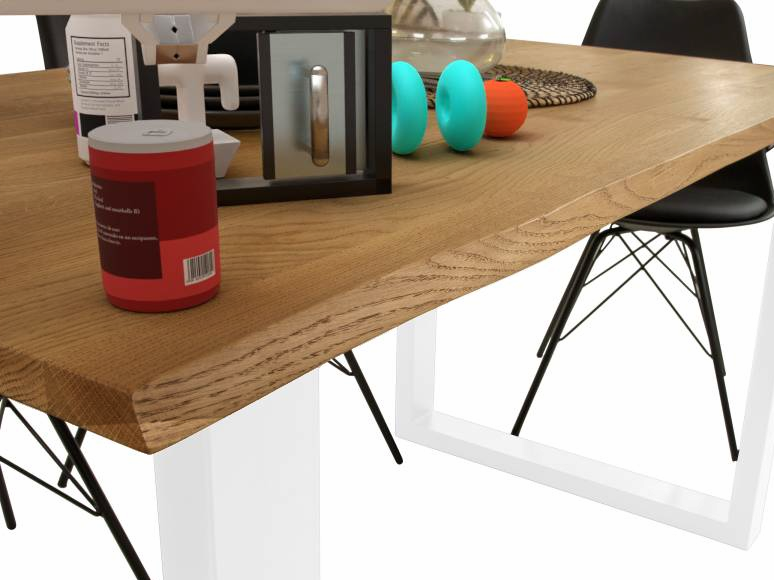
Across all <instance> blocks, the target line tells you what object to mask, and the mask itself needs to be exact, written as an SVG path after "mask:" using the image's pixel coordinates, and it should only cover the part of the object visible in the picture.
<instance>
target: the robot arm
mask: <svg viewBox="0 0 774 580" xmlns="http://www.w3.org/2000/svg"><path fill="white" fill-rule="evenodd" d="M395 2H397V0H0V16H71V15H111V14H120V18H121V24H122V25H123V26H124V27H125V28H126V29H127V30H128V31H129V32H130V33H131V34H132V35H133V36H134V37H135V38H136V39H137V40H138V41H139V42H140V43H141V47H142V53H143V59H144V64H145V65H155V64H195V63H196V64H206V61H207V55H208V51H209V44H212V43H213V42H214V41H216V40H217V39H218V38H219V37H220V36H221V35H223V34H224V33H226V32H227V31H226V30H227V29H228V28H229V27H230V26H231V25H232V24H234V23H235V19H236V13H340V12H382V11H384V10H385V9H387V8H388V7H389V6H391V5H393V4H394V3H395ZM154 14H188V15H154Z"/></svg>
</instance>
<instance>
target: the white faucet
mask: <svg viewBox="0 0 774 580" xmlns="http://www.w3.org/2000/svg"><path fill="white" fill-rule="evenodd" d="M238 74H239V73H238V66H237V63H236V60H235V59H234V57H233V56H232V55H230V54H226V53H216V54H207V61H206V64H196V63H195V64H158V75H159V87H176V100H177V101H176V102H177V115H178V120H180V121H190V122H196V123H200V124H204V125H206V126H207V124H206V123H207V120H206V119H207V118H206V104H205V89H204V86H205V85H213V84H218V86H219V92H220V103H221V106H222V108H223V109H224V110H227V111H235V110H237V109H238V108H239V106H240V95H239V94H240V93H239V92H240V91H239V75H238ZM211 129H212V136H213V145H214V156H215V175H216V179H221V178H225V176H226V175H227V174H226V173H227V172H228V170H229V167H230V165H231V164H232V161H233V160H234V158H235V156H236V153H237V151H238V149H239V147H240V146H241V143H242V141H241V140H239V139H237V138H235V137H233V136H231V135H230V134H228V133H226V132H224V131H222V130H220V129H218V128H215V129H213V128H211Z"/></svg>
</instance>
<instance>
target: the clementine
mask: <svg viewBox="0 0 774 580" xmlns="http://www.w3.org/2000/svg"><path fill="white" fill-rule="evenodd" d="M483 83H484V88H485V93H486V102H487V115H486V123H485V128H484V132H483V134H485V135H488V136H490V137H493V138H505V137H508V136H511V135H513V134H514V133H516V132H517V131H519V130H520V129H521V127H523V125H524V123H525V122H526V119H527V117H528V112H529V105H528V103H529V102H528V97H527V95H526V93H525V92H524V89H522V87H521V86H520V85H518V84H517V83H516V82H514V80H513V79H511V78H502V77H501V76H499V78H492V79H489V80H487V81H485V82H483Z"/></svg>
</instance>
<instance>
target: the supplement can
mask: <svg viewBox="0 0 774 580" xmlns="http://www.w3.org/2000/svg"><path fill="white" fill-rule="evenodd" d="M64 29H65V39H66V48H67V58H68V67H69V77H70V84H71V93H72V95H71V96H72V104H73V113H74V114H73V115H74V122H75V131H76V142H77V152H78V158H80V159H81V160H82V161H84V162H85V164H86V165H88V166H89V167H90V163H89V150H88V133H89V132H90V131H92V130H93V129H95V128H98V127H101V126H104V125H108V124H114V123H120V122H128V121H138V110H137V99H136V87H135V75H134V64H133V52H132V41H131V33H130V32H129V31H128V30H127V29H126V28H125V27H124V26H123V25H122V24H121V18H120V14H111V15H69V19H68V21H67V23H66V26H65V28H64Z"/></svg>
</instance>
